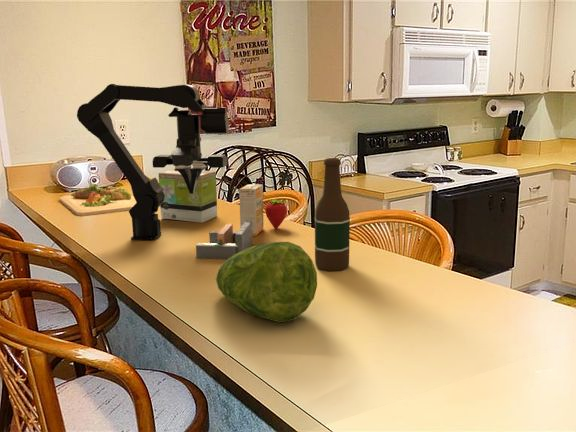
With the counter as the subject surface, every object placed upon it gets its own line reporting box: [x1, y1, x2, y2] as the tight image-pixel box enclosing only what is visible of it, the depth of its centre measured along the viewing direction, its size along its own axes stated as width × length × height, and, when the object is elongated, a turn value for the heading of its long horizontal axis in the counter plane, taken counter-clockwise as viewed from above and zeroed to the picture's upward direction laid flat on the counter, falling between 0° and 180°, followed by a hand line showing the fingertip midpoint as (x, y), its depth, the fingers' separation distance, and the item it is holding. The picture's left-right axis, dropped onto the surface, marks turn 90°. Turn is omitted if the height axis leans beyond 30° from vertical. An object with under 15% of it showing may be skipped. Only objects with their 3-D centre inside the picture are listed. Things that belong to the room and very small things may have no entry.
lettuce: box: [215, 241, 318, 323], centre depth 98 cm, size 14×23×13 cm, turn 38°
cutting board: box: [58, 183, 137, 217], centre depth 195 cm, size 35×23×8 cm
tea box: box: [158, 169, 218, 224], centre depth 170 cm, size 15×10×15 cm
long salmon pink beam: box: [217, 223, 234, 244], centre depth 134 cm, size 2×12×5 cm, turn 173°
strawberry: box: [264, 194, 288, 229], centre depth 156 cm, size 6×8×10 cm
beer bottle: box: [314, 157, 351, 272], centre depth 119 cm, size 8×8×24 cm
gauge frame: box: [195, 221, 254, 260], centre depth 135 cm, size 11×14×6 cm
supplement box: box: [238, 183, 264, 237], centre depth 151 cm, size 8×5×13 cm, turn 168°
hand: (191, 193), depth 146 cm, fingers closed
